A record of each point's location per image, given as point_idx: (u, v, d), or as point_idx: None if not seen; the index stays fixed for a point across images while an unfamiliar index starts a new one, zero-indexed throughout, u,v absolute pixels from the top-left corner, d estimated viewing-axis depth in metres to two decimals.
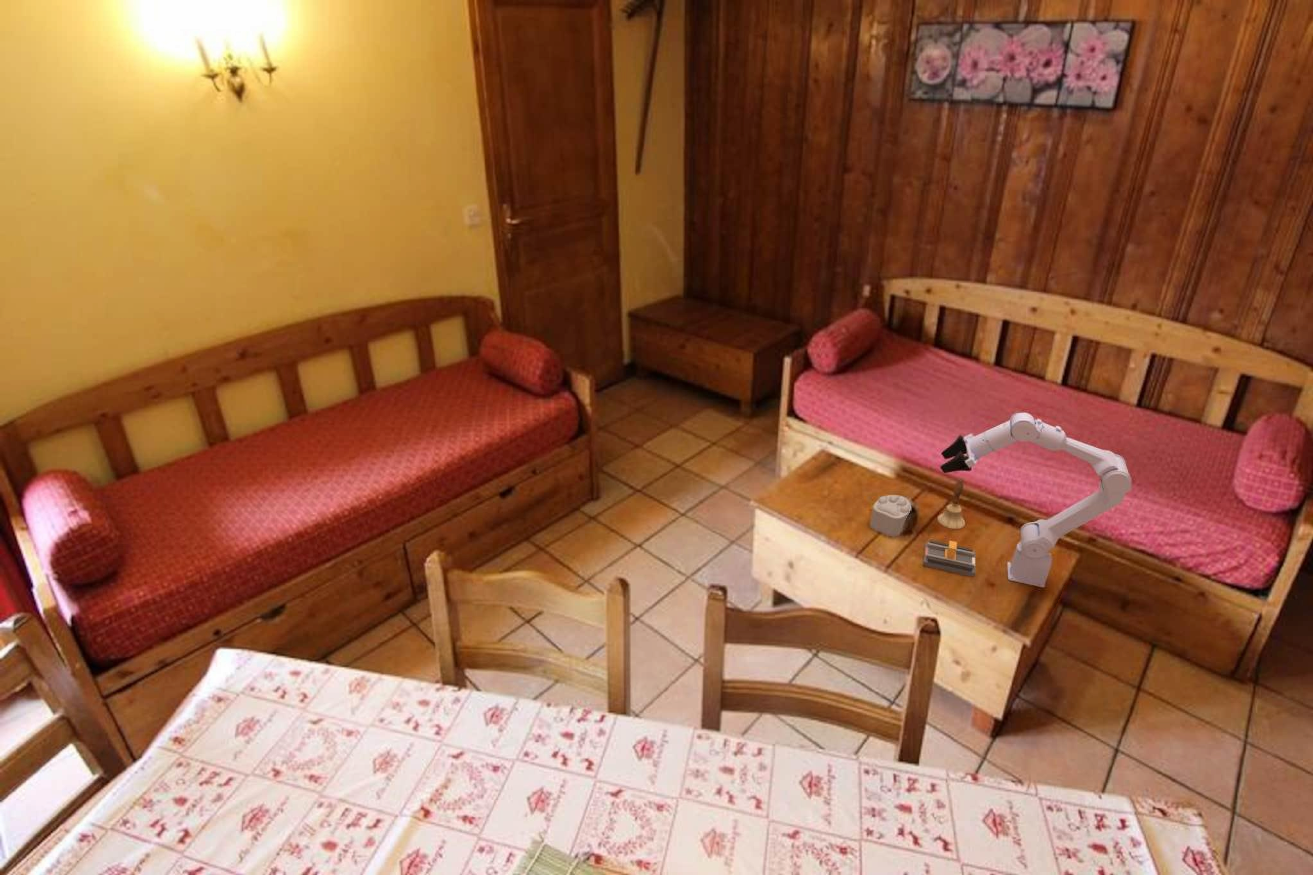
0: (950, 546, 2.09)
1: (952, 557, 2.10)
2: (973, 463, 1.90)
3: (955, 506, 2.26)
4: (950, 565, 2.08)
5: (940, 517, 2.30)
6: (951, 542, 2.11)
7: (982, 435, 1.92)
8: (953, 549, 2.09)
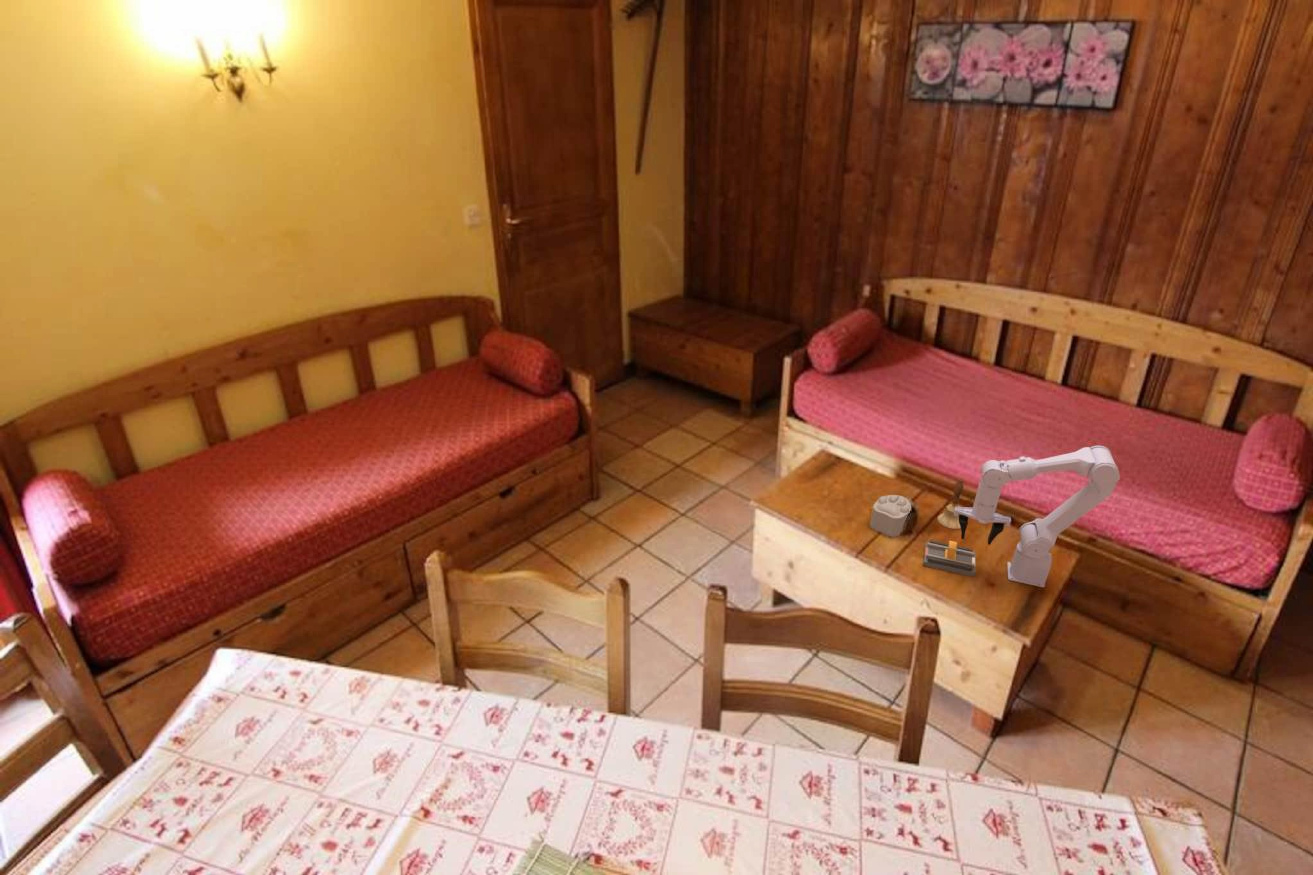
0: (950, 546, 2.09)
1: (952, 557, 2.10)
2: None
3: (955, 506, 2.26)
4: (950, 565, 2.08)
5: (940, 517, 2.30)
6: (951, 542, 2.11)
7: (988, 507, 1.98)
8: (953, 549, 2.09)
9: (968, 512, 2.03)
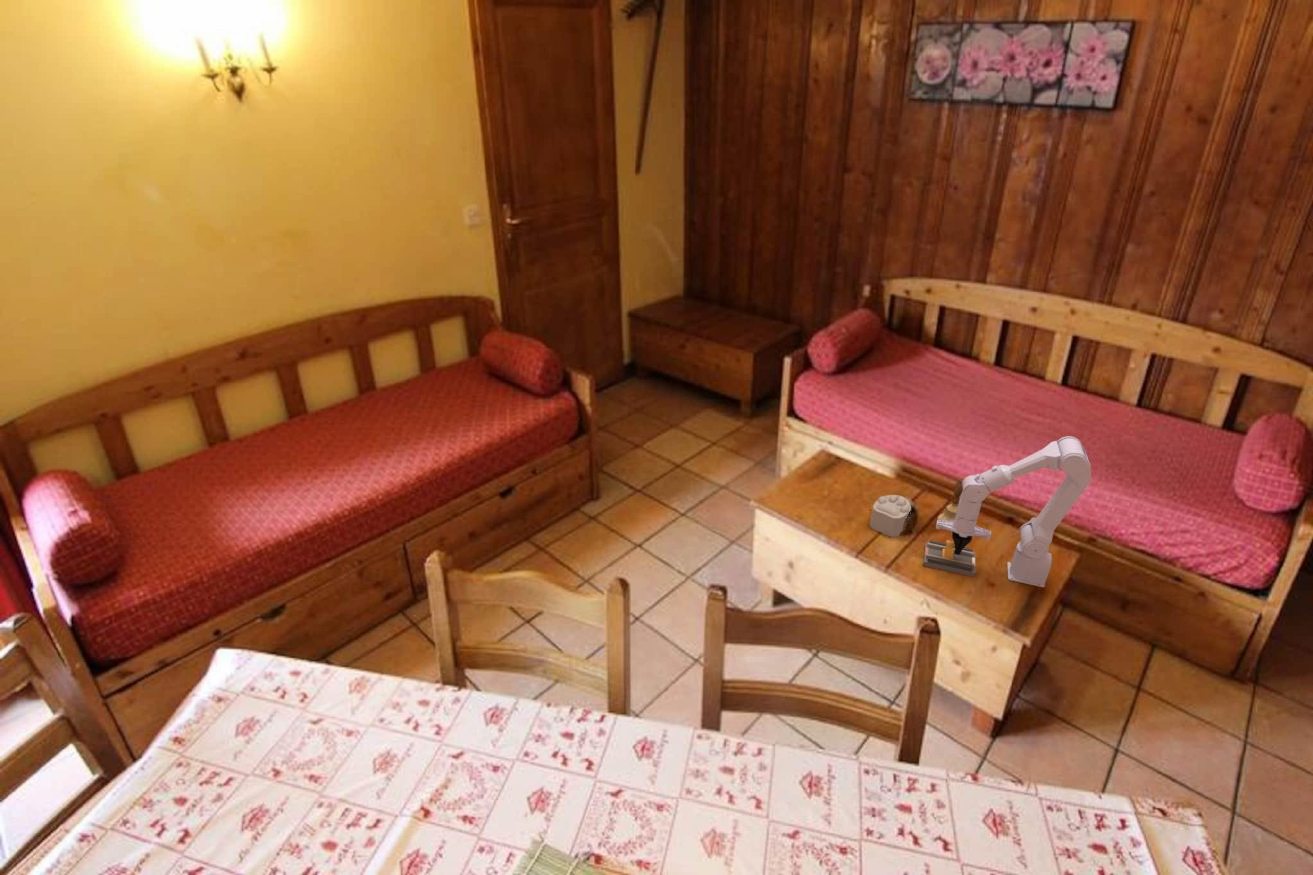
0: (947, 545, 2.10)
1: (949, 556, 2.10)
2: (990, 533, 2.04)
3: (955, 506, 2.26)
4: (950, 565, 2.08)
5: (940, 517, 2.30)
6: (948, 541, 2.11)
7: (968, 521, 2.02)
8: (950, 548, 2.09)
9: (949, 525, 2.07)
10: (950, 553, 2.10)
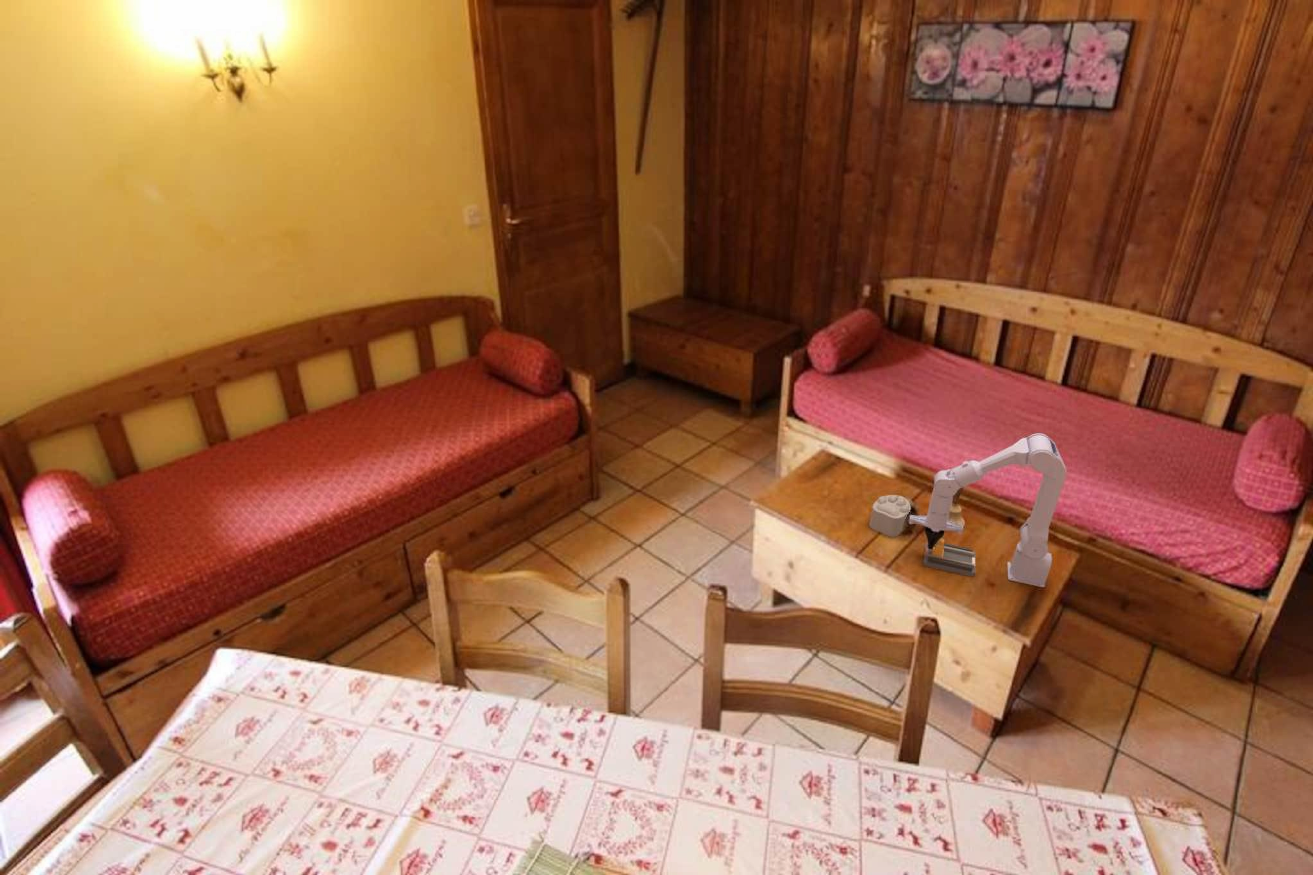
0: (937, 543, 2.10)
1: (939, 554, 2.11)
2: (962, 527, 2.07)
3: (955, 506, 2.26)
4: (950, 565, 2.08)
5: None
6: None
7: (940, 516, 2.04)
8: (940, 546, 2.10)
9: (922, 520, 2.10)
10: (940, 551, 2.10)
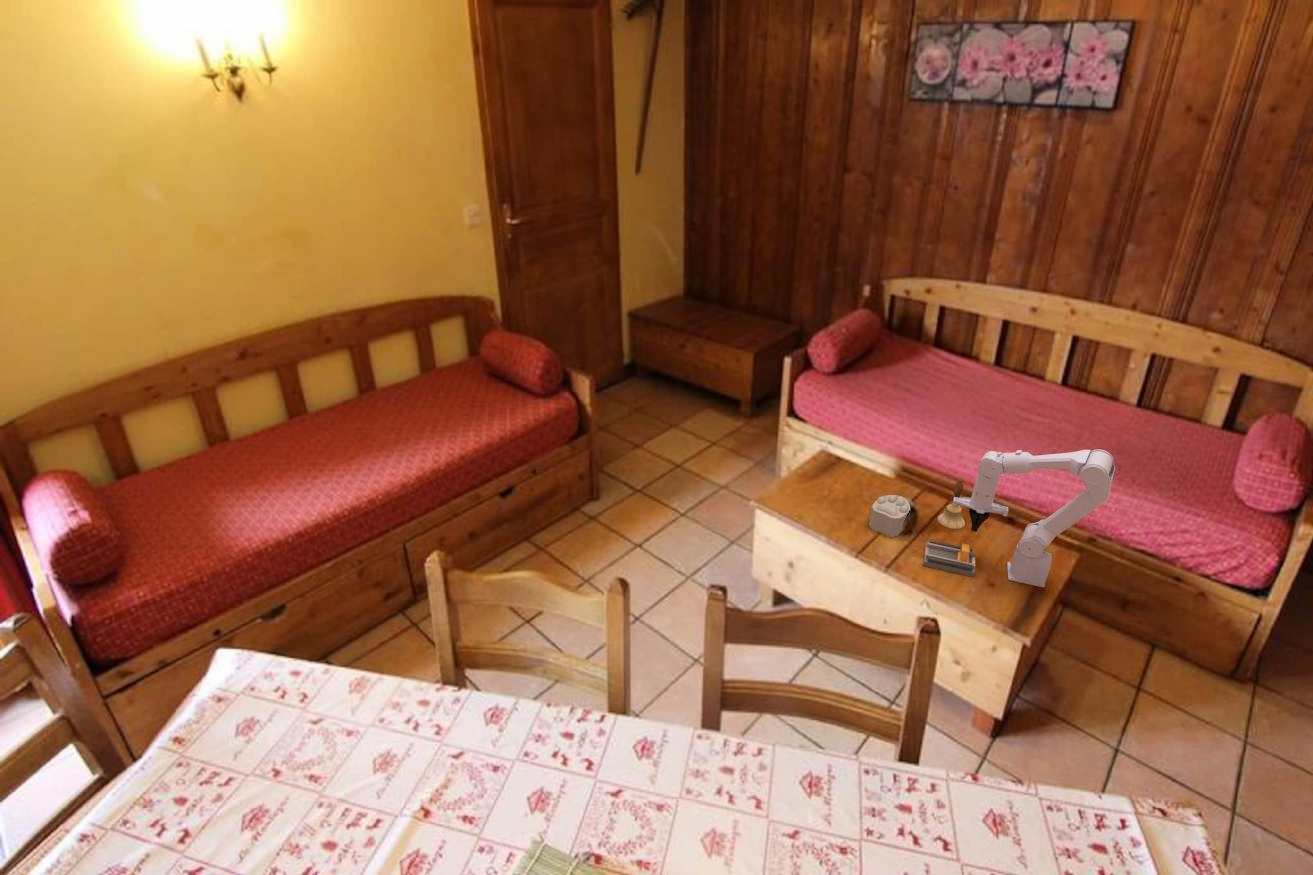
0: (963, 549, 2.08)
1: (965, 560, 2.09)
2: (1007, 509, 2.04)
3: (955, 506, 2.26)
4: (950, 565, 2.08)
5: (940, 517, 2.30)
6: (964, 545, 2.10)
7: (986, 497, 2.02)
8: (966, 552, 2.08)
9: (966, 502, 2.07)
10: (966, 556, 2.08)
